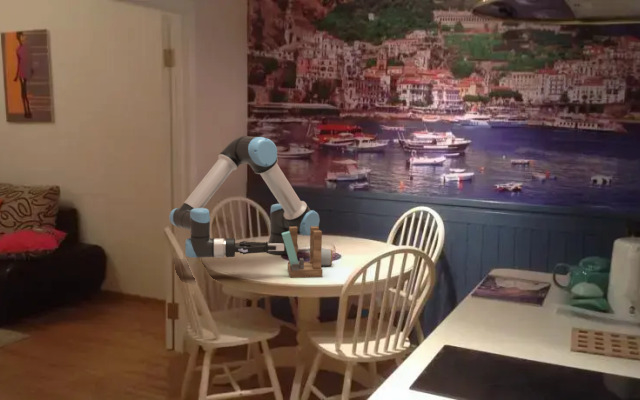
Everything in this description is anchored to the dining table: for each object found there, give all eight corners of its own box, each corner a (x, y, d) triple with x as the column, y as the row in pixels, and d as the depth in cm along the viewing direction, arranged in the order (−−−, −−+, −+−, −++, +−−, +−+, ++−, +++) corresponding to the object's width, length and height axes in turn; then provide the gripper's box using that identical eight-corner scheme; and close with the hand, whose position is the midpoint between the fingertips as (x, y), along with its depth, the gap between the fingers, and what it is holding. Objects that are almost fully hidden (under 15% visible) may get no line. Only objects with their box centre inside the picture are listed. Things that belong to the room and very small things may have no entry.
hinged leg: (291, 268, 255) (281, 233, 252) (299, 265, 255) (289, 230, 252) (292, 270, 251) (282, 234, 248) (299, 267, 252) (289, 232, 249)
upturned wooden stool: (287, 269, 263) (288, 226, 261) (317, 268, 265) (318, 226, 262) (290, 277, 250) (291, 232, 247) (322, 277, 252) (323, 232, 249)
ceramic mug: (332, 267, 267) (333, 250, 266) (313, 267, 267) (314, 249, 266) (330, 261, 278) (331, 245, 277) (312, 261, 277) (312, 244, 276)
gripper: (225, 253, 254) (282, 252, 257) (224, 260, 241) (285, 260, 245) (225, 235, 253) (283, 234, 256) (224, 242, 240) (285, 241, 243)
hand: (284, 247), depth 250 cm, fingers closed
